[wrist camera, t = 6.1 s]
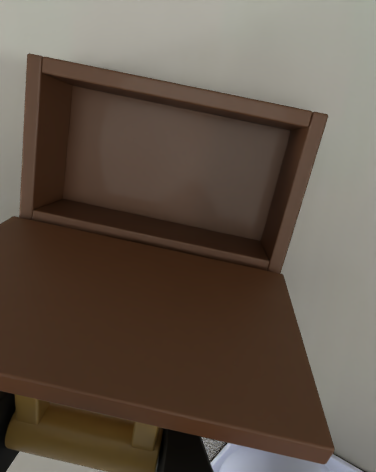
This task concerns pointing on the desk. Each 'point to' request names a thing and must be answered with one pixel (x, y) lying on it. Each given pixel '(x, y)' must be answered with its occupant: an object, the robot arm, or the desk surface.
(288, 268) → the desk surface
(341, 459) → the robot arm
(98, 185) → the wooden drawer
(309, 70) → the desk surface
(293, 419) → the brown box lid
